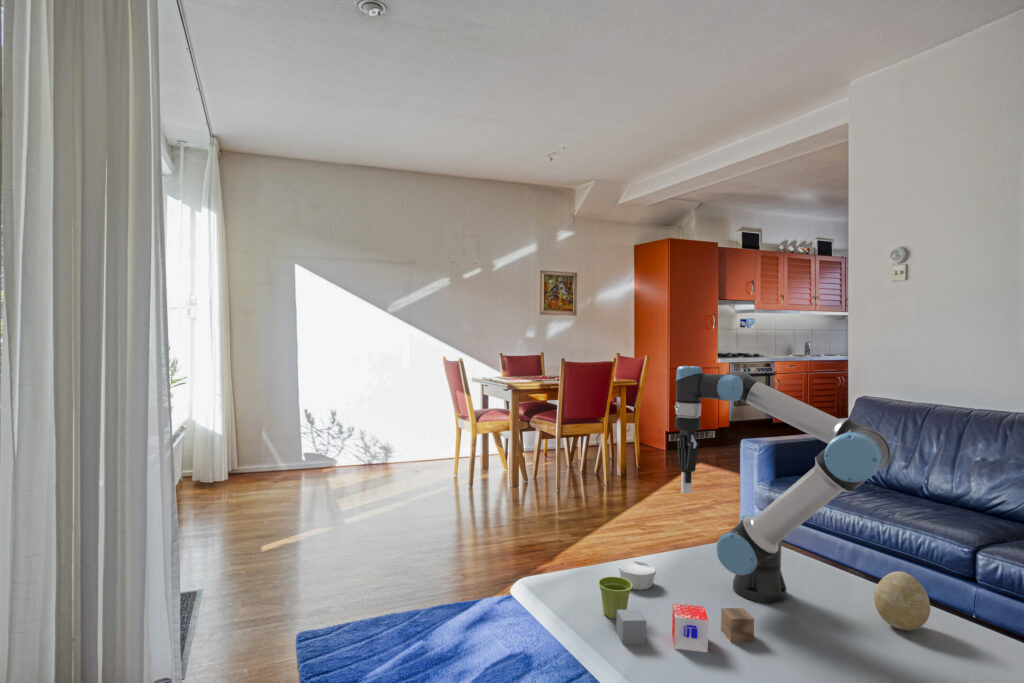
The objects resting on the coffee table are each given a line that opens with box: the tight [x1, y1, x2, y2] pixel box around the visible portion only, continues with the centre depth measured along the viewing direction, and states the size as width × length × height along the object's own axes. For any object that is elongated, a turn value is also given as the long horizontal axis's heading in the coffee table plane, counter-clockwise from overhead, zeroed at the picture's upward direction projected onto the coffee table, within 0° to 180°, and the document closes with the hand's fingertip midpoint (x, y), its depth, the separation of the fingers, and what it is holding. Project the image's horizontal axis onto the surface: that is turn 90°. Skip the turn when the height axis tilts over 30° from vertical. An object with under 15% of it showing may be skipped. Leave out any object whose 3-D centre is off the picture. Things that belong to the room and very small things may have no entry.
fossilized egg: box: [873, 570, 931, 631], centre depth 161 cm, size 13×13×15 cm
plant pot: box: [597, 576, 633, 620], centre depth 166 cm, size 9×9×9 cm
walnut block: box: [720, 607, 755, 643], centre depth 155 cm, size 6×6×6 cm
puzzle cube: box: [671, 602, 709, 653], centre depth 151 cm, size 8×8×8 cm
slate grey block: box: [615, 609, 647, 645], centre depth 153 cm, size 6×6×6 cm
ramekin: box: [618, 560, 657, 591], centre depth 186 cm, size 11×11×5 cm
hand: (686, 492), depth 184 cm, fingers closed
